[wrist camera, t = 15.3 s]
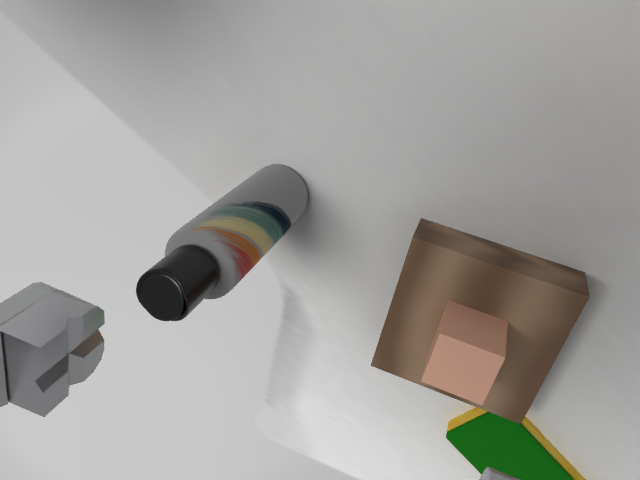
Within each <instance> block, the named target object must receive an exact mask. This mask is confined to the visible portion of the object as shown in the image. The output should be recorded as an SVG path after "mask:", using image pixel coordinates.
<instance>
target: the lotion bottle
mask: <svg viewBox="0 0 640 480" xmlns="http://www.w3.org/2000/svg"><path fill="white" fill-rule="evenodd" d="M307 203H308V191H307V187H306V185H305V183H304V181H303V179H302V178H301V177H300V176H299V175H298V174H297V173H296V172H295V171H294V170H292V169H291V168H289V167H286V166H283V165H271V166H267V167H265V168H263V169H261V170H260V171H258V172H256V173H255V174H254V175H252V176H251V177H249V178H248V179H247V180H245V181H244V182H243V183H241V184H240V185H239V186H237V187H236V188H234V189H233V190H232V191H230V192H229V193H228V194H226V195H225V196H223V197H222V198H221V199H219V200H218V201H217V202H215V203H214V204H213V205H211V206H210V207H208V208H207V209H206V210H204V211H203V212H202V213H200V214H199V215H198V216H196V217H195V218H193V219H192V220H191V221H189V222H188V223H187V224H185V225H184V226H183V227H181V228H180V229H179V230H178V231H176V232H175V233H174V234H173V235H172V236H171V238H170V239H169V241H168V243H167V245H166V249H165V258H163V259H162V260H161V261H159V262H158V263H157V264H156V265H154V266H153V267H152V268H151V269H149V270H148V271H147V272H146V273H144V274H143V275H142V276H141V278H140V279H139V281H138V283H137V288H136V293H137V297H138V300H139V302H140V303H141V304H142V306H143V307H144V308H145V309H146V310H147V311H148V312H149V313H150V314H151V315H152V316H153V317H155V318H156V319H159V320H162V321H178V320H182V319H184V318H185V317H186V316H187V315H188V314H189V313H190V312H191V311H192V310H193V309H194V308H195V307H196V306H197V305H198V304H199V303H200V302H201V301H202V300H203V299H216V298H220V297H222V296H224V295H225V294H227V293H228V292H229V291H230V290H231V289H233V287H235V286H236V285H237V283H238V282H239V281H240V280H241V279H242V278H243V277H244V276H245V275H246V274H247V273H248V272H249V271H250V270H251V269H252V268H253V267H254V266H255V264H256V263H257V262H258V261H259V260H260V259H261V258H262V257H263V256H264V255H265V254H266V253H267V252H268V251H269V250H270V249H271V247H272V246H273V245H274V244H275V243H276V242H277V241H278V240H279V239H280V238H281V237H282V236H283V235H284V234H285V233H286V232H287V230H288V229H289V228H290V227H291V226H292V225H293V224H294V223H295V222H296V221H297V220H298V219H299V217H300V216H301V215H302V214H303V212H304V211H305V209H306V206H307Z"/></svg>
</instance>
